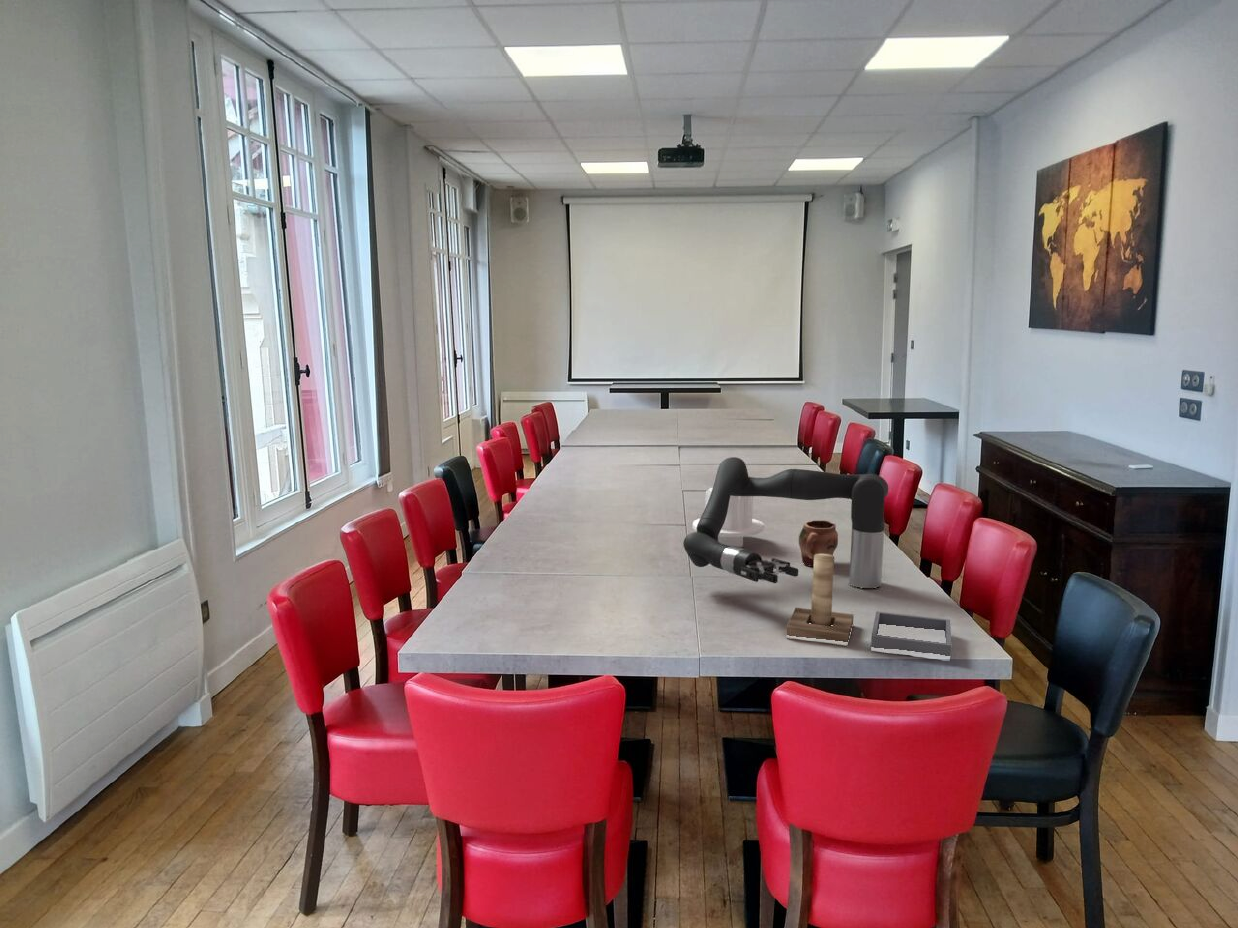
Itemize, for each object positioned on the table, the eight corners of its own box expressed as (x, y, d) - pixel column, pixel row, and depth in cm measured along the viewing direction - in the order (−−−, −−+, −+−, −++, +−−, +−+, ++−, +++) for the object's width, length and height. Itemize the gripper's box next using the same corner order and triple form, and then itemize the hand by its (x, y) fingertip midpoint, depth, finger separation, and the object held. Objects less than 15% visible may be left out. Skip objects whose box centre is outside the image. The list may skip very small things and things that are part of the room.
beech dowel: (811, 626, 223) (815, 552, 219) (831, 629, 221) (835, 554, 218) (809, 633, 218) (812, 558, 215) (829, 636, 217) (833, 560, 213)
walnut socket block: (795, 618, 229) (795, 607, 229) (853, 625, 224) (853, 614, 224) (786, 638, 215) (786, 626, 215) (847, 646, 210) (848, 634, 210)
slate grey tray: (875, 625, 224) (876, 611, 223) (949, 634, 218) (950, 619, 217) (870, 651, 207) (871, 635, 206) (950, 661, 201) (951, 645, 200)
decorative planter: (829, 576, 265) (831, 533, 262) (790, 571, 270) (792, 528, 267) (842, 559, 282) (844, 518, 280) (805, 555, 288) (807, 514, 285)
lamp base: (761, 534, 314) (763, 484, 310) (766, 553, 289) (767, 498, 286) (692, 532, 316) (693, 482, 313) (691, 551, 292) (692, 497, 288)
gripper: (757, 570, 243) (803, 584, 231) (723, 580, 234) (769, 595, 222) (758, 544, 242) (804, 557, 230) (723, 553, 233) (770, 567, 221)
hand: (787, 576), depth 226 cm, fingers open, 8 cm apart
